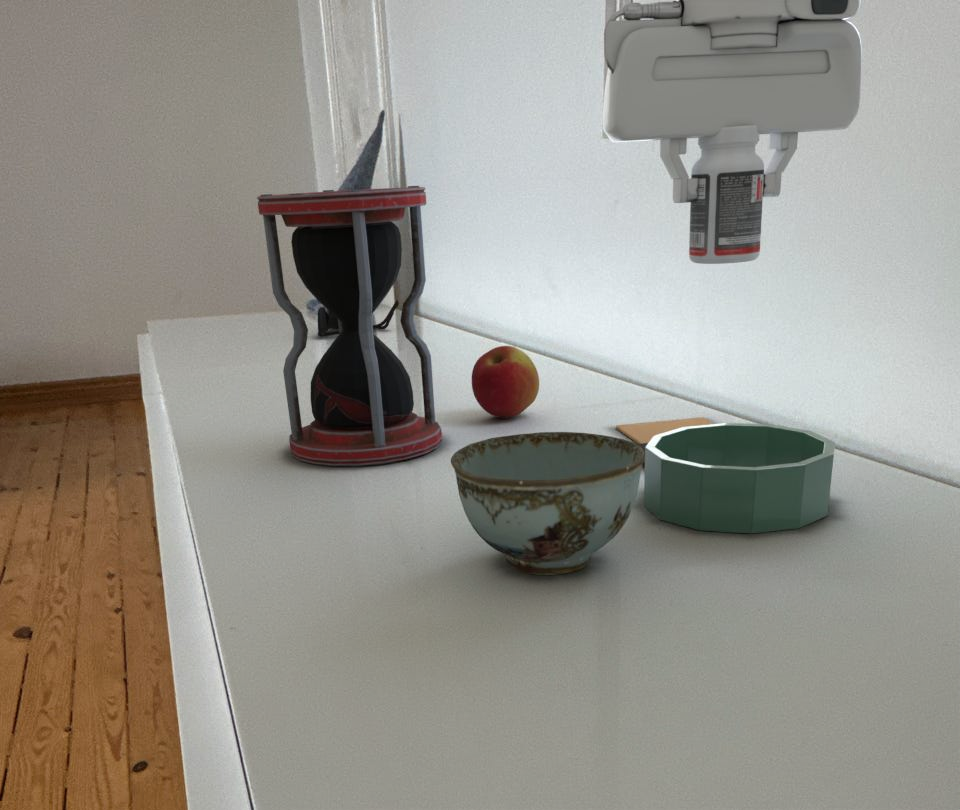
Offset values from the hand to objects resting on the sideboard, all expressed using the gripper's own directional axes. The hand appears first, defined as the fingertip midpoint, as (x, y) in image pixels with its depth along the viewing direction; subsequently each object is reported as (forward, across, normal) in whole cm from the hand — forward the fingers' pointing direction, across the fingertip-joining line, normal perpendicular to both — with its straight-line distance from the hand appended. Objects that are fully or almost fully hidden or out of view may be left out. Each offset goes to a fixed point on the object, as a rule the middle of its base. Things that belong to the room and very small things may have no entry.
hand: (726, 199), depth 81 cm
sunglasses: (+23, -21, +112) cm, 116 cm away
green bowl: (+23, -2, -8) cm, 24 cm away
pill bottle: (+5, 0, 0) cm, 5 cm away
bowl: (+23, -20, -16) cm, 34 cm away
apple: (+23, -12, +31) cm, 40 cm away
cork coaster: (+23, +3, +16) cm, 28 cm away
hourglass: (+23, -29, +23) cm, 44 cm away
